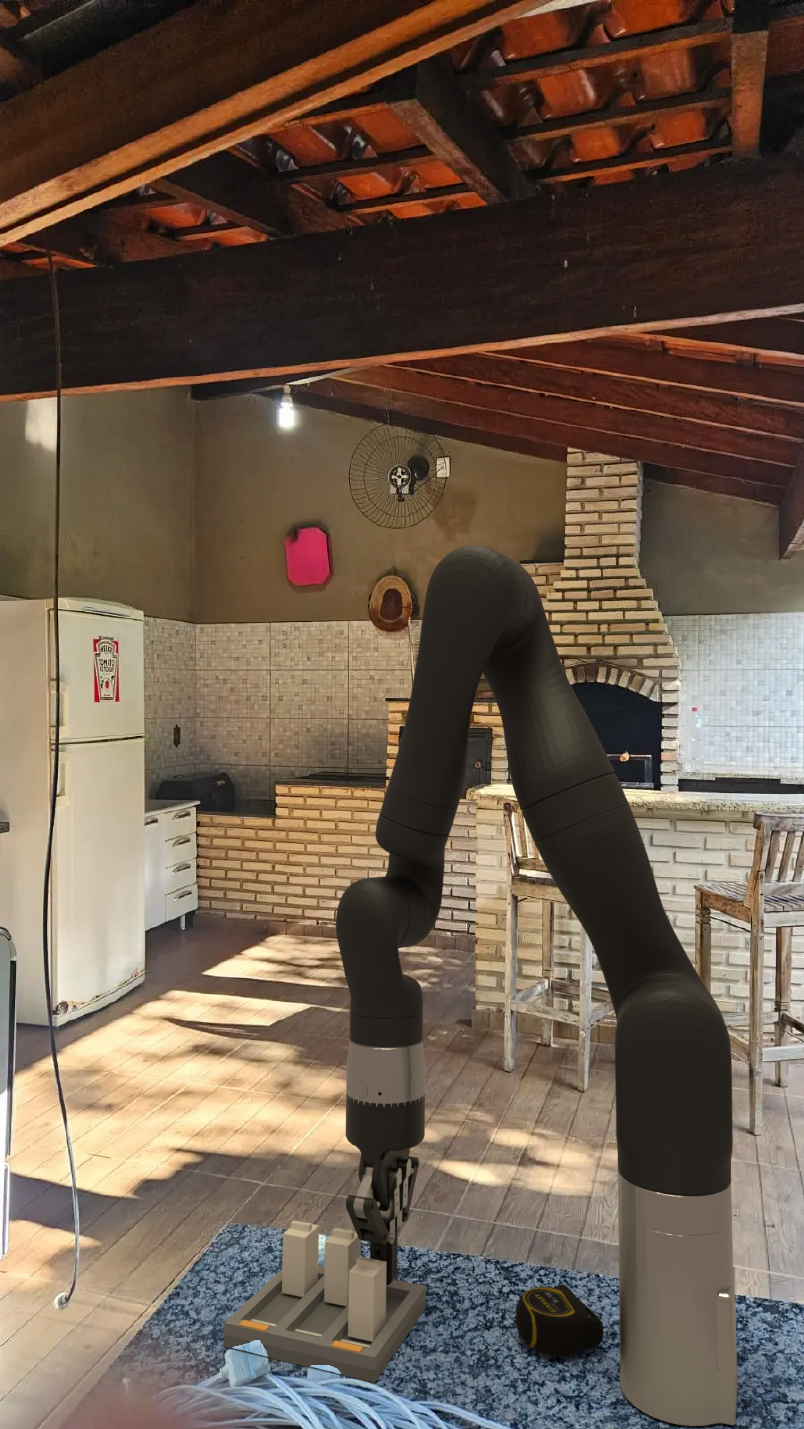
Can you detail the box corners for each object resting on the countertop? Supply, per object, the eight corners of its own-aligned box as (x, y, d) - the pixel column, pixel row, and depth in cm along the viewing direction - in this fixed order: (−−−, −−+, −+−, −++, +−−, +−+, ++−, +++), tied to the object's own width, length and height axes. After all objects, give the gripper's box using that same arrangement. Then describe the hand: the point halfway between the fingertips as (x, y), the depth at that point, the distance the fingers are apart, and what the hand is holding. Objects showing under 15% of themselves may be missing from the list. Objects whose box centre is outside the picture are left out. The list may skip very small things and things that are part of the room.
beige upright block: (360, 1291, 92) (361, 1226, 93) (347, 1306, 89) (348, 1239, 90) (337, 1286, 93) (338, 1222, 94) (324, 1301, 90) (325, 1234, 91)
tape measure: (607, 1359, 84) (606, 1314, 84) (536, 1372, 82) (536, 1325, 82) (570, 1319, 90) (570, 1277, 91) (503, 1330, 88) (504, 1287, 89)
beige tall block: (385, 1324, 86) (386, 1254, 87) (373, 1341, 84) (374, 1269, 84) (361, 1319, 87) (362, 1250, 88) (347, 1336, 84) (349, 1264, 85)
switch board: (425, 1307, 92) (426, 1284, 92) (374, 1382, 80) (374, 1355, 80) (291, 1280, 97) (291, 1258, 97) (223, 1346, 85) (224, 1321, 85)
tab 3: (317, 1282, 94) (319, 1219, 94) (304, 1297, 91) (305, 1231, 92) (296, 1278, 95) (297, 1215, 95) (281, 1292, 92) (283, 1227, 92)
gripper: (396, 1113, 83) (394, 1323, 82) (445, 1074, 96) (444, 1256, 94) (319, 1103, 86) (315, 1306, 84) (376, 1067, 98) (374, 1243, 97)
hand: (383, 1279), depth 89 cm, fingers closed
